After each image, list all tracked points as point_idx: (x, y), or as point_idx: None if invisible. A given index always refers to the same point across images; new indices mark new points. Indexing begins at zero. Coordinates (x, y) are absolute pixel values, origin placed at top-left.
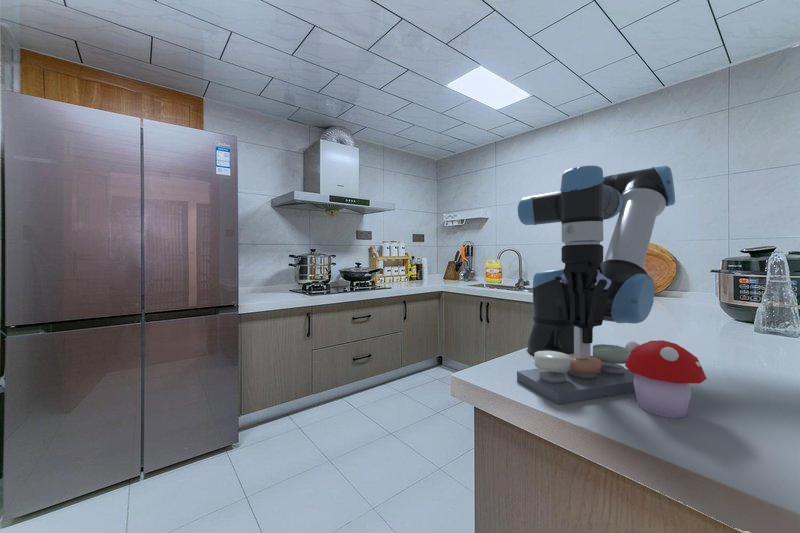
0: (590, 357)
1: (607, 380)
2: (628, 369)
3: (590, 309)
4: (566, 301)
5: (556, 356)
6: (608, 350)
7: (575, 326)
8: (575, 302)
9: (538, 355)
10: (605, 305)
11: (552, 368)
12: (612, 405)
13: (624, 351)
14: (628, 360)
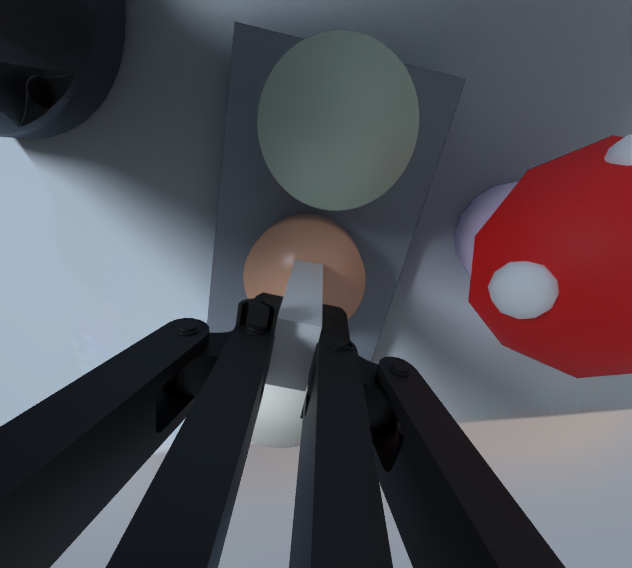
0: (312, 246)
1: (376, 244)
2: (492, 332)
3: (398, 523)
4: (96, 498)
5: (292, 404)
6: (349, 176)
7: (273, 382)
8: (225, 532)
9: (258, 436)
10: (514, 513)
11: None
12: (421, 311)
13: (402, 123)
14: (502, 334)
